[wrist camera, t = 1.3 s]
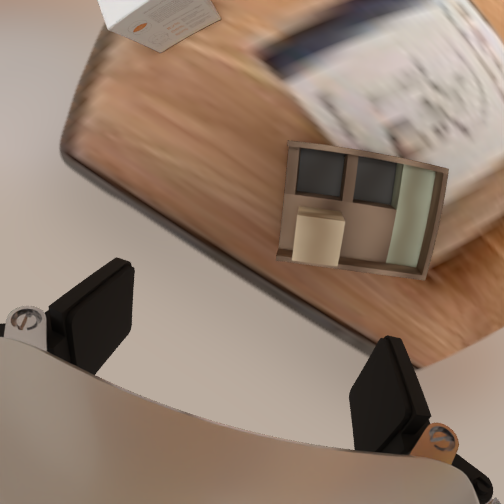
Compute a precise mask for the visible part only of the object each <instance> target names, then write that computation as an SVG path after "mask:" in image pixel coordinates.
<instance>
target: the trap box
mask: <svg viewBox="0 0 504 504" xmlns="http://www.w3.org/2000/svg"><path fill="white" fill-rule="evenodd" d="M287 146H289V150H288V161H287V172H286V182H285V192H284V202H283V212H282V221H281V231H280V240H279V249H278V252H277V255H276V261H283V262H290V263H298V264H305V265H312V266H320V267H327V268H335V269H342V270H349V271H357V272H364V273H372V274H379V275H387V276H394V277H402V278H410V279H417V280H425V279H426V275H427V272H428V268H429V265H430V261H431V257H432V253H433V249H434V245H435V241H436V237H437V232H438V228H439V223H440V218H441V213H442V208H443V202H444V197H445V191H446V185H447V178H448V171H449V169H447V168H443V167H439V166H435V165H431V164H427V163H422V162H418V161H413V160H409V159H404V158H399V157H394V156H389V155H384V154H379V153H373V152H368V151H362V150H356V149H350V148H343V147H337V146H330V145H322V144H315V143H307V142H298V141H289V140H288V144H287ZM300 148H301V152H300ZM307 148H309V149H307ZM315 149H317V150H315ZM322 150H324V151H322ZM330 151H331V152H330ZM337 152H338V153H337ZM343 153H345V154H343ZM362 156H363V157H362ZM344 157H345V159H344ZM368 157H369V158H368ZM299 158H300V162H299ZM374 158H375V159H374ZM379 159H380V160H379ZM385 160H386V161H385ZM390 161H391V162H390ZM395 162H396V163H395ZM343 166H344V168H343ZM298 168H299V172H298ZM342 175H343V176H342ZM297 178H298V182H297ZM341 183H342V184H341ZM296 187H297V191H296ZM340 190H341V192H340ZM300 191H301V192H300ZM363 200H364V201H363ZM387 204H388V205H387ZM299 206H305V207H312V208H320V209H327V210H334V211H341V213H342V215H343V218H344V220H345V226H344V233H343V239H342V244H341V250H340V256H339V261H338V266H329V265H322V264H315V263H307V262H300V261H293V260H292V254H293V247H294V239H295V231H296V222H297V214H298V209H299Z"/></svg>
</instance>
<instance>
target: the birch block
mask: <svg viewBox="0 0 504 504" xmlns="http://www.w3.org/2000/svg"><path fill="white" fill-rule="evenodd" d="M344 226H345V220H344V218H343V215H342V213H341V211H334V210H327V209H320V208H312V207H305V206H299V209H298V214H297V222H296V231H295V239H294V247H293V254H292V260H293V261H300V262H307V263H315V264H322V265H329V266H338V261H339V256H340V250H341V244H342V239H343V233H344Z"/></svg>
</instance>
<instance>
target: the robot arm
mask: <svg viewBox="0 0 504 504" xmlns="http://www.w3.org/2000/svg"><path fill="white" fill-rule="evenodd" d="M134 273H135V270H134V267H132V266H131V263H130V262H129V261H126V260H123V259H120V258H115V259H113V260H112V261H110V262H109V263H107V264H106V265H105V266H103V267H102V268H100V269H99V270H97V271H96V272H94V273H93V274H92V275H90V276H89V277H88V278H86V279H85V280H83V281H82V282H81V283H79V284H78V285H76V286H75V287H74V288H72V289H71V290H70V291H68V292H67V293H66V294H64V295H63V296H62V297H60V298H59V299H58V300H56V301H55V302H54V303H52V304H51V305H50V306H49V310H48V311H47V312H45V313H44V312H43V311H42V310H41V309H39V308H37V307H34V306H22V307H19V308H16V309H15V310H13V311H11V312H10V313H9V315H8V317H7V319H6V323H5V324H0V504H501V503H500V502H499V501H498V500H497V498H494V499H493V500H492V495H493V487H492V483H491V481H490V479H489V478H488V477H487V476H486V475H484V474H483V473H482V472H480V471H479V470H478V469H476V468H475V467H474V466H472V465H471V464H470V463H468V462H467V461H466V460H464V459H463V458H462V457H460V456H459V455H458V454H456V452H457V450H458V447H459V442H458V438H457V436H456V434H455V433H454V432H453V430H452V429H450V428H449V427H448V426H446V425H444V424H441V423H432V424H430V422H429V418H430V417H431V414H430V411H429V408H428V405H427V402H426V400H425V397H424V394H423V392H422V389H421V387H420V384H419V381H418V379H417V376H416V373H415V371H414V368H413V366H412V363H411V361H410V358H409V356H408V354H407V351H406V349H405V346H404V344H403V342H402V340H401V339H400V338H397V337H392V336H388V335H387V336H385V337H384V338H381V339H380V340H379V341H378V343H377V345H376V347H375V348H374V350H373V352H372V354H371V356H370V357H369V359H368V361H367V363H366V365H365V366H364V368H363V370H362V371H361V373H360V375H359V377H358V378H357V380H356V382H355V383H354V385H353V386H352V388H351V390H350V394H349V401H350V409H351V418H352V427H353V437H354V447H355V450H350V449H341V448H334V447H327V446H320V445H314V444H308V443H303V442H297V441H292V440H287V439H282V438H277V437H273V436H268V435H264V434H260V433H255V432H251V431H247V430H243V429H240V428H236V427H232V426H229V425H225V424H222V423H218V422H215V421H212V420H208V419H205V418H202V417H199V416H196V415H192V414H190V413H187V412H184V411H181V410H178V409H175V408H172V407H169V406H167V405H164V404H161V403H158V402H156V401H153V400H151V399H148V398H146V397H143V396H141V395H138V394H136V393H134V392H131V391H129V390H126V389H124V388H122V387H120V386H117V385H115V384H113V383H111V382H108V381H106V380H104V379H102V378H100V377H98V376H95V374H96V372H97V371H98V370H99V369H100V368H101V366H102V365H103V364H104V363H105V362H106V360H107V359H108V358H109V357H110V356H111V354H112V353H113V352H114V351H115V349H116V348H117V347H118V346H119V345H120V343H121V342H122V341H123V340H124V339H125V338H126V336H127V335H128V334H129V332H130V330H131V325H132V304H133V287H134Z"/></svg>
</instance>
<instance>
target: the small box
mask: <svg viewBox="0 0 504 504" xmlns="http://www.w3.org/2000/svg"><path fill="white" fill-rule="evenodd" d="M97 1H98V4H99V6H100V9H101V12H102V15H103V17H104V21H105V23H106V26H107V29H108V30H110V31H112V32H115V33H117V34H119V35H122V36H124V37H126V38H129V39H131V40H133V41H135V42H138V43H140V44H142V45H144V46H146V47H149V48H151V49H153V50H155V51H157V52H159V53H161V52H163V51H165V50H166V49H168V48H169V47H171V46H173V45H174V44H176V43H178V42H179V41H181V40H183V39H185V38H186V37H188V36H190V35H192V34H194V33H195V32H197V31H199V30H201V29H203V28H205V27H207V26H208V25H210V24H212V23H214V22H216V21H218V20H220V19H221V17H220V16H219V14H218V12H217V10H216V9H215V7H214V5H213V3H212V2H211V0H97Z"/></svg>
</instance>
